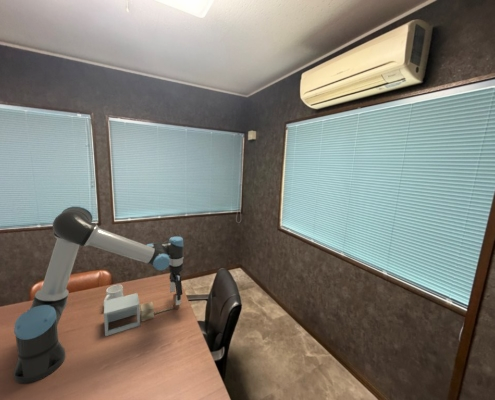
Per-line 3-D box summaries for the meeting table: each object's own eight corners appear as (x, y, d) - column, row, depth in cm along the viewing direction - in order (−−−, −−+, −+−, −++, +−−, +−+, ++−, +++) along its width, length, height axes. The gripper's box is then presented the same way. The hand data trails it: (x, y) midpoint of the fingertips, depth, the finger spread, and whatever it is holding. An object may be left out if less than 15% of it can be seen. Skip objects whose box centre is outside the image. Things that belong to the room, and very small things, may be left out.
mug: (110, 314, 119) (109, 297, 117) (97, 311, 121) (96, 294, 119) (126, 301, 131) (126, 286, 129) (115, 299, 132) (114, 283, 131)
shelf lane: (105, 336, 104) (103, 313, 102) (105, 321, 114) (104, 300, 112) (140, 325, 112) (139, 304, 110) (138, 312, 122) (137, 292, 120)
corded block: (141, 321, 115) (141, 307, 114) (140, 314, 120) (140, 301, 119) (180, 309, 126) (180, 297, 125) (178, 303, 131) (178, 291, 130)
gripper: (189, 272, 115) (187, 308, 118) (177, 254, 135) (176, 285, 139) (174, 275, 111) (173, 312, 114) (164, 256, 131) (164, 288, 135)
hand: (175, 297), depth 126 cm, fingers open, 13 cm apart
